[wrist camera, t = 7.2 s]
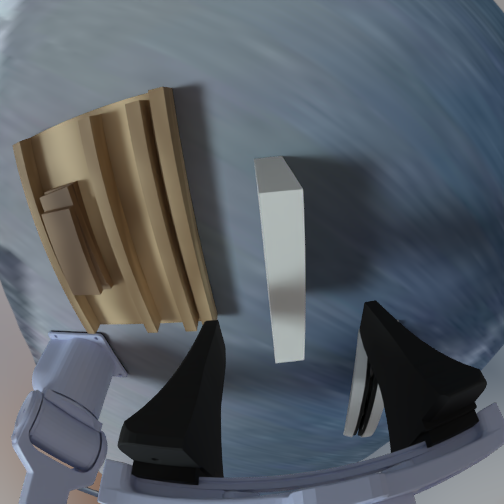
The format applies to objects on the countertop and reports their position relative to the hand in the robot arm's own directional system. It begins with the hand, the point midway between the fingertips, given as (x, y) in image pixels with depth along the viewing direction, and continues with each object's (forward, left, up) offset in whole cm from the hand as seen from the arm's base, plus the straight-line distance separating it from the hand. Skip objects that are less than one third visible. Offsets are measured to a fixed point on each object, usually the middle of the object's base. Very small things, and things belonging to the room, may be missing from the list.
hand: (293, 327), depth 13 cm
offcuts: (-17, +2, -10) cm, 19 cm away
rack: (-13, +2, -10) cm, 17 cm away
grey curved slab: (+10, -21, -11) cm, 25 cm away
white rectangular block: (0, 0, -10) cm, 11 cm away
